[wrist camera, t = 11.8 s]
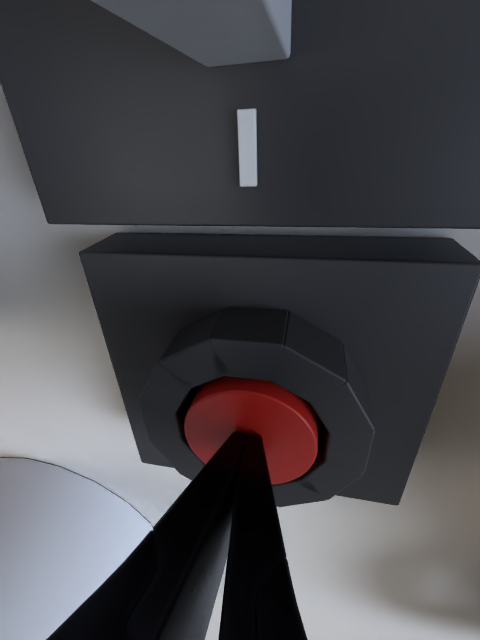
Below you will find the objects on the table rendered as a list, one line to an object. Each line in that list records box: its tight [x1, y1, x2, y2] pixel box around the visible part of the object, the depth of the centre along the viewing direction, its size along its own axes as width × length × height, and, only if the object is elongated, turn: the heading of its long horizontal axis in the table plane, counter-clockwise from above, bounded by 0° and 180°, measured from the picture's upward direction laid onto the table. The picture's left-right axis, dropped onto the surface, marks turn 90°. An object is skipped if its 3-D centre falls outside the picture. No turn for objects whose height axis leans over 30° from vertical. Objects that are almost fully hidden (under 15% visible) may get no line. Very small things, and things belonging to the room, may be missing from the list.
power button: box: [184, 376, 318, 485], centre depth 10 cm, size 4×4×2 cm
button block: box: [79, 233, 480, 507], centre depth 11 cm, size 10×11×4 cm
